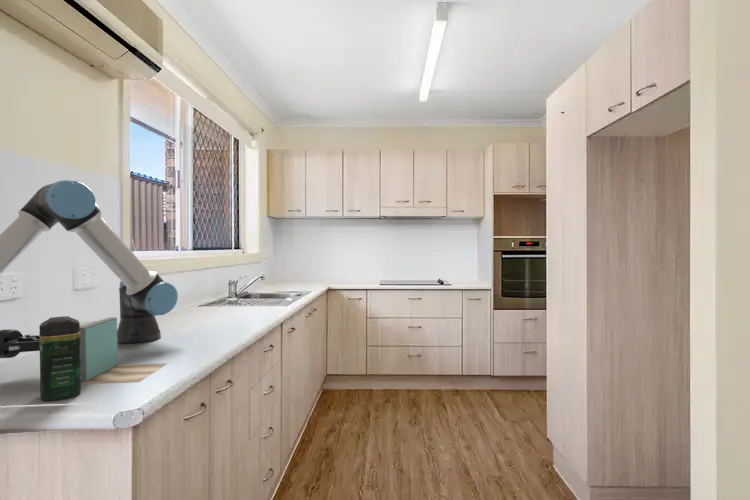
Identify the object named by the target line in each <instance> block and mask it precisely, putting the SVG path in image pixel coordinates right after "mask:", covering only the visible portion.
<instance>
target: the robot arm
mask: <svg viewBox="0 0 750 500" xmlns="http://www.w3.org/2000/svg"><path fill="white" fill-rule="evenodd" d="M102 211H103V210H102V208H101V207H100V206H99V205H98V204H97V202H96V196H95V194H94V191H92V189H90V187H88V186H87V184H85V183H82V182H80V181H78V180H77V181H76V180H69V179H68V180H67V179H66V180H65V179H64V180H59V181H57V182H56V181H55V182H53V183H50V184H46V185H43V186H42V187H41V188H39V189H38V190H37V191H36V192H35V193H34V194H33V195H32V197H30V199H29V200H28V201H27V202H26V204H24V206H23V207H21V209H20V210H19V211H18V217H17V218H16V219H15V220H14V221H13V222H11V224H10V225H8V226H7V227H6V228H5V230H3V231H2V232H1V233H0V276H1V275H2V274H3V273H4V272H5V271H6V270H7V269H8V268H9V267H10V265H12V264H13V262H15V260H16V259H18V258H19V257H20V255H21V254H22V253H24V252H25V251H26V249H27V248H28V247H29V246H30V245H31V244H32V243H33V242H34V241H35V240H36V239H37V238H38V237H39V236H40V235H41V234H42V233H43V232H49V231H50V230H51V229H52V228H53V227H54V226H55V225H57V224H58V223H59V224H60V225H61V226H62V227H63V229H65V230H66V231H67V232H71V233H76V234H77V235H78V236H79V238H81V239H82V241H83V242H84V243H85V244H86V245H87V247H89V248H90V249H91V250H92V252H94V254H95V255H96V256H97V257H99V259H100V260H101V261H102V262H103V263H104V264H105V265H106V267H107V268H109V270H111V272H112V273H113V274H114V275H115V276H116V277H117V278H118V279H119V281H120V282H119V288H118V292H119V314H120V315H119V316H120V317H119V318H120V319H119V323H118V325H117V344H137V343H144V342H145V343H146V342H152V341H155V340H159V339H161V336H162V333H161V329H160V327H159V324H158V322H157V319H156V316H163V315H167V314H169V313H170V312H172V310H174V308H175V307H176V305H177V304H178V296H179V294H178V291H177V289H176V287H175V286H174V285H173V284H171V283H170V282H167V281H165V280H163V278H162V277H161V276H160V275H159V274H158V273H157V272H156V271H152V270H148V268H147V267H146V266H145V265H144V264H143V263H142V262H141V260H140V259H139V258H138V256H136V255H135V254H134V253H133V251H132V250H131V249H130V248H129V247H128V246H127V244H125V242H124V241H123V240H122V239H121V238H120V237H119V235H118V234H116V231H114V230H113V228H112V227H111V226H110V225H109V224H108V223H107V222H106V220H104V218H103V217H102ZM39 335H40V334H38V335H37V334H36V335H33V334H25V335H23V334H22V332H20V331H19V330H18V329H14V328H13V329H0V359H13V358H15V357H16V356H18V355H19V354H20V353H27V352H29V353H30V352H40V337H39Z"/></svg>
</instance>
